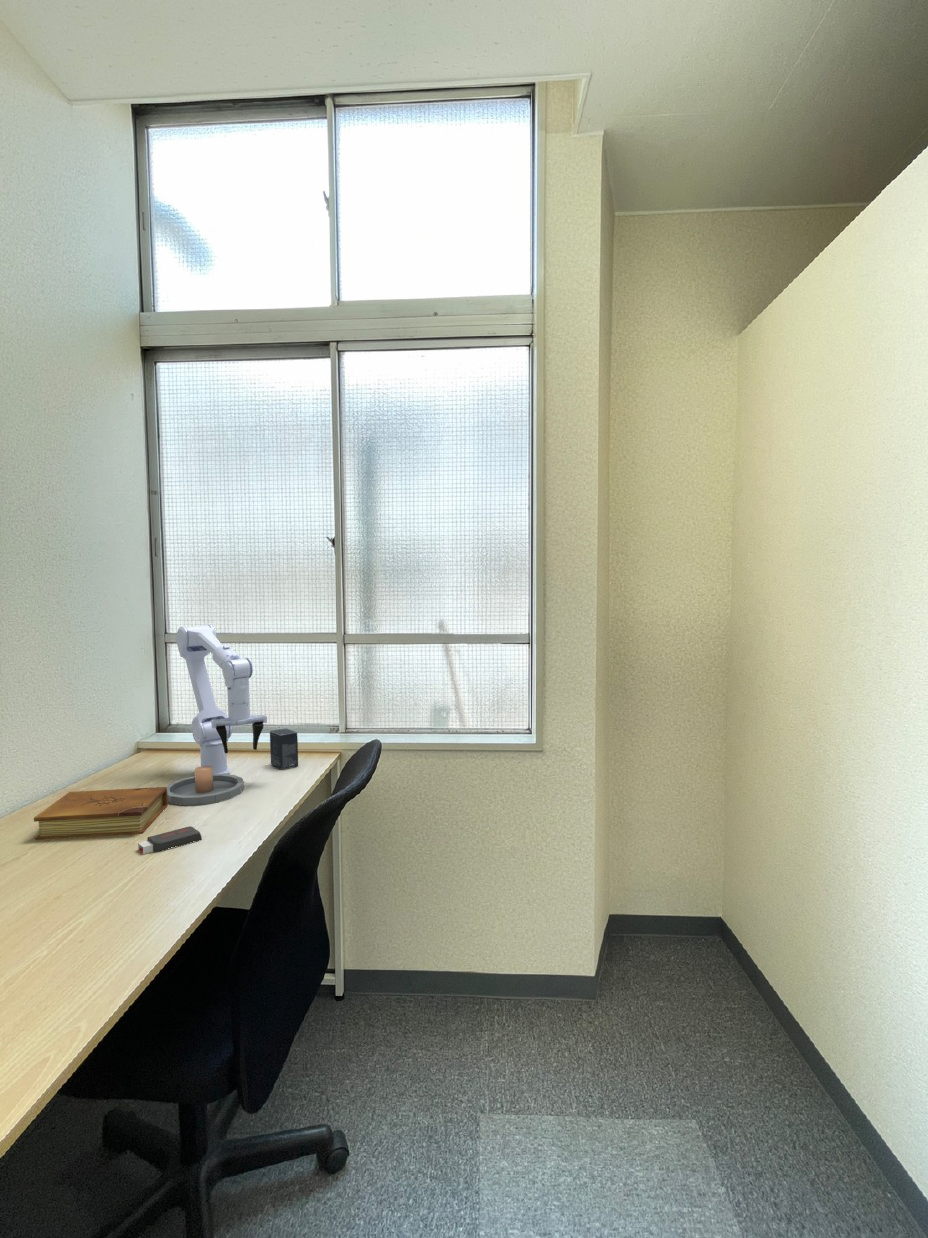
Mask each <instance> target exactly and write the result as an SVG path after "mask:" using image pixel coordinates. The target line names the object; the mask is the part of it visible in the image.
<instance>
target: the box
mask: <svg viewBox="0 0 928 1238" xmlns="http://www.w3.org/2000/svg"><path fill="white" fill-rule="evenodd" d="M298 740H299V739H298V732H297V731H294V730H292V729H289V728H280V729H273V730H270V731H269V743H270V744H269V747H270V765H271V764H272V766H274V767H276V768H277V769H280V770H286V769H293V768H296V767H295V766H298V767H299V743H298V742H299V741H298Z"/></svg>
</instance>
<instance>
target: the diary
mask: <svg viewBox="0 0 928 1238" xmlns="http://www.w3.org/2000/svg"><path fill="white" fill-rule="evenodd" d="M168 805H169V803H168V795H167V788H166V786H157V787H156V786H155V787H139V788H137V787H136V788H120V789H119V788H118V789H101V790H95V789H94V790H79V791H69V792H67V793H66V794H64V795H63V796H62V797H60V798H59V799H58V800H56V801H55V802H53V803H51V804H50V805H49V806H48V807H46V808H45V809H44V810H42V811H40V812H39V813H38V814H37V815H36V816H34V817H33V822H38V832H39V834H38V835H37V836H36V837H34V840H36V841H37V840H39V841H40V840H55V839H57V838H58V839H71V838H72V839H74V838H73V837H76V838H89V837H88V836H93V837H107V836H109V837H111V836H124V835H127V836H128V835H142V834H144V833H145V832H146V831H147V829H149V828H150V827H151V825H152V824H153V823H155V821H156V820H157V819H158V818H159V816H160V815H161V814H162V813H163V812H164V811H165V809H166V808H168ZM163 810H164V811H163ZM69 837H71V838H69Z"/></svg>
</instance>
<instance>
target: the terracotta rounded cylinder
mask: <svg viewBox="0 0 928 1238" xmlns="http://www.w3.org/2000/svg"><path fill="white" fill-rule="evenodd" d="M194 776H195V790H196V792H197V793H207V792H210V791H213V768H212V767H211V766H201V765H200V766H197V767H195V768H194Z"/></svg>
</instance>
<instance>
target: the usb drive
mask: <svg viewBox="0 0 928 1238" xmlns="http://www.w3.org/2000/svg"><path fill="white" fill-rule="evenodd" d="M199 840H200V841H202V840H203V839H202V834H201V832H200V831H199V830H198V829H196V828H195V827H193V826H191V825H190V826H186V827H181V828H178V829H174V830H171V831H166V832H163V833H159V834H155V835H151V836H147V839H146V840H144V841H140V842H138V843H137V850H138V851H139V852H140V853H142V854H143V855H147V854H150V853H157V852H158V851H159V852H163V851H162V850H164V851H167V850H169V849H168V848H171V847H175V846H178V847H182V846H185V845H188V844H187V843H189V844H191V843H190V842H192V843H194V842H193V841H196V842H200V841H199ZM184 844H185V845H184ZM181 845H182V846H181ZM175 848H176V847H175ZM166 849H167V850H166ZM171 849H172V848H171ZM149 852H150V853H149ZM159 852H158V853H159ZM146 853H147V854H146Z"/></svg>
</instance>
